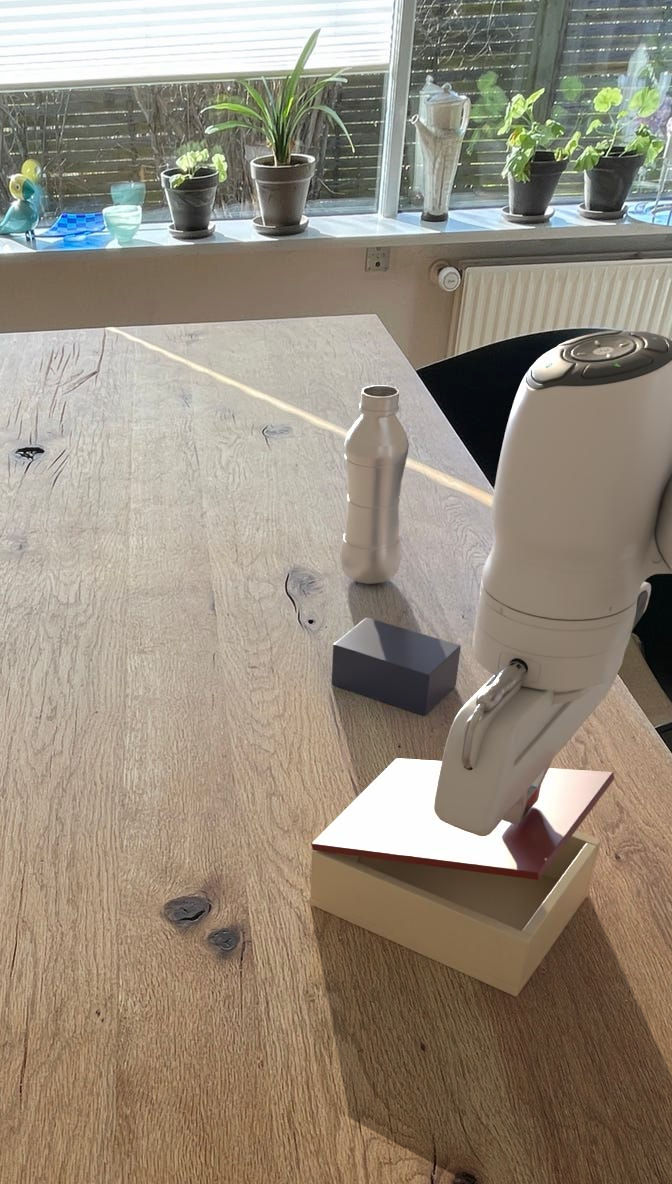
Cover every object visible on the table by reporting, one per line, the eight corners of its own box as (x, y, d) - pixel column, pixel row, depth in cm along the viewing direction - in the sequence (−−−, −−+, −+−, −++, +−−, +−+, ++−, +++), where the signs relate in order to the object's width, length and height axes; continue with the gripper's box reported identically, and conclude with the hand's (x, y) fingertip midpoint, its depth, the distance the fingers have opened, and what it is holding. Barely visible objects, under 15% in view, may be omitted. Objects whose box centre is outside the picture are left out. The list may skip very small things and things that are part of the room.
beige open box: (588, 894, 85) (601, 839, 81) (516, 997, 77) (528, 942, 74) (392, 817, 93) (396, 764, 89) (309, 904, 85) (311, 850, 82)
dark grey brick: (456, 685, 107) (461, 645, 104) (424, 716, 104) (429, 675, 101) (363, 656, 112) (366, 616, 109) (331, 684, 108) (332, 644, 106)
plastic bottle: (385, 596, 121) (399, 406, 108) (328, 583, 124) (335, 396, 111) (409, 571, 125) (425, 385, 112) (353, 559, 128) (363, 376, 115)
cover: (614, 779, 78) (613, 771, 78) (538, 880, 71) (537, 872, 70) (397, 764, 89) (396, 758, 89) (312, 850, 82) (310, 843, 81)
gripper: (527, 726, 60) (491, 916, 69) (662, 576, 72) (617, 754, 81) (420, 690, 63) (399, 877, 72) (567, 552, 75) (533, 726, 84)
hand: (515, 810), depth 77 cm, fingers closed
